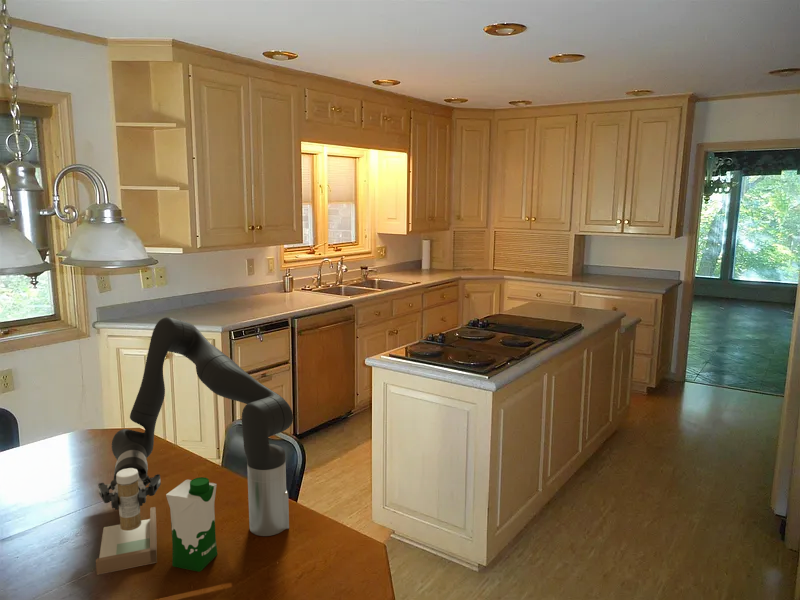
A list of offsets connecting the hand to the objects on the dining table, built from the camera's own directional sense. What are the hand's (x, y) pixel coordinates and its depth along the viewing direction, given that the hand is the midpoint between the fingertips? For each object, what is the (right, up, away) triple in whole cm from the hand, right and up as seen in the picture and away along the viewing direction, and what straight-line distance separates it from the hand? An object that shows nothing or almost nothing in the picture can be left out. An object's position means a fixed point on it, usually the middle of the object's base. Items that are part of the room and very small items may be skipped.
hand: (128, 503), depth 133 cm
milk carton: (+14, -14, +1) cm, 20 cm away
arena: (-3, -13, +7) cm, 15 cm away
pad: (-1, -12, +4) cm, 13 cm away
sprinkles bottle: (-1, -7, +4) cm, 8 cm away
